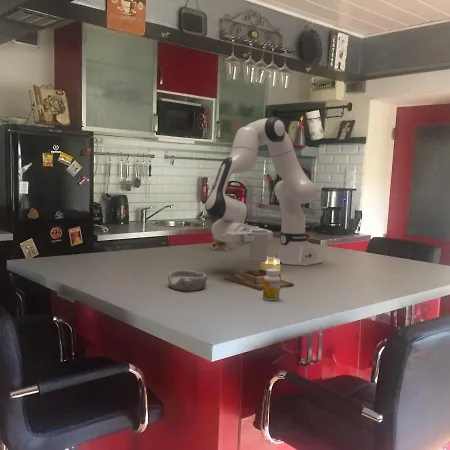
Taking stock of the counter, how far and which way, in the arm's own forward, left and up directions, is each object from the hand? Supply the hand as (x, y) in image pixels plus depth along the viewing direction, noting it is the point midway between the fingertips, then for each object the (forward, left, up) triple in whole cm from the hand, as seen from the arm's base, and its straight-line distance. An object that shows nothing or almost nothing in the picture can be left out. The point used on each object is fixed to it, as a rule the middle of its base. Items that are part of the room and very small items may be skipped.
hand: (261, 238), depth 191 cm
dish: (+28, -6, -17) cm, 33 cm away
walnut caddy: (0, -1, -17) cm, 17 cm away
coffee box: (-32, -74, -17) cm, 82 cm away
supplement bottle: (+12, +21, -17) cm, 30 cm away
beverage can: (0, -1, -9) cm, 9 cm away
